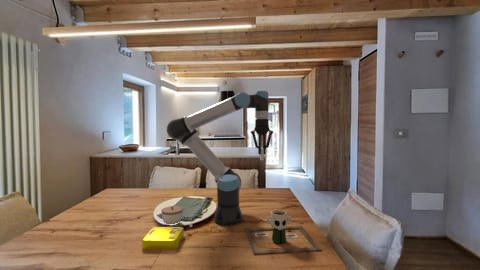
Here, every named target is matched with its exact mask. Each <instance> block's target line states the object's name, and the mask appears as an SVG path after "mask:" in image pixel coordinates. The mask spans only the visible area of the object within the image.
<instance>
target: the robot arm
mask: <svg viewBox="0 0 480 270" xmlns="http://www.w3.org/2000/svg"><path fill="white" fill-rule="evenodd" d="M269 98H270V97H269V92H268V91H267V90H256V91H255V94H248V93H246V92H245V91H243V92H242V91H241V92H239V93H237V94H235V95H233V96H232V97H228V98H226V99H224V100H223V101H220V102H217V103H215V104H212V105H211V106H209V107H206V108H204V109H201V110H199V111H197V112H195V113H192V114H190V115H188V116H187V115H183V116H180V117H178V118H174V119H173V120H170V121H169V123H167V125H166V133H167V135H168V137H170V138H171V139H172V140H174V141H179V143H180V144H181V145H182V146H183V147H184V146H186V147H187V148H188V149H189V150H190V151H191V152H192V153H193V154H194V155H195V157H197V159H198V160H199V161H200V162H201V163H202V164H203V165H204V167H205V168H206V169H207V170H208V172H210V174H211V175H212V176H213V177H214V182H215V183H216V186H217V187H216V189H217V190H216V192H217V194H216V197H217V199H216V200H217V201H216V203H217V206H216V209H215V213H214V216H213V219H214V223H215V224H217V225H220V226H228V227H229V226H235V225H239V224H241V223H242V222H243V221H244V220H243V219H244V218H243V217H244V216H243V213H242V210H241V207H240V191H241V188H242V179H241V176H240V175H239V174H238V173H237V172H235V171H234V170H232V168H231V167H230V166H225V164H224V163H223V162H222V161H221V160H220V159H219V158H218V156H217V155H216V154H215V153H214V152H213V151H212V149H210V147H209V145H207V144H206V143H205V142H204V140H202V138H201V137H200V136H199V131H198V130H197V129H198V128H202V126H206V125H207V124H209V123H212V122H214V121H216V120H219V119H221V118H224V117H225V116H228V115H230V114H233V113H235V112H237V111H239V110H242V109H255V110H254V111H255V113H254V115H255V116H254V117H255V121H254V123H255V125H254V128H253V130H251V131H250V134H251V135H252V138H253V140H252V141H253V143H254V147H255V148H257V149H258V155H260V156H259V159H260V161H264V158H265V155H266V150H267V149H268V148H269V147H270V143H271V138H272V135H273V133H274V130H271V129H270V126H269V125H270V124H269V123H270V122H269V120H270V119H269V118H270V117H269V115H270V113H269V111H270V110H269V108H270V107H269V106H270V103H269V100H270V99H269ZM256 134H257V137H258V139H257V137H256ZM267 134H268V135H267ZM266 137H267V139H266ZM257 140H258V141H257Z"/></svg>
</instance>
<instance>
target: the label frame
mask: <svg viewBox="0 0 480 270" xmlns="http://www.w3.org/2000/svg"><path fill="white" fill-rule="evenodd" d="M284 229H285V231H286V230H299V231H300V232H301V234H302V235H303V236H304V237H305V238H306V240H307V241H308V242H309V243H310V244H311V246H312V247H298V248H297V247H296V248H295V247H294V248H283V249H282V248H281V249H266V250H265V249H264V250H263V249H262V250H261V249H260V250H258V247H257V244H256V242H255V239H254V236H255V237H256V238H258V237H261V238H262V237H269V234H268V232H261V231H273V227H272V226H271V227H253V228H252V227H251V228H245V232H246V234H247V238H248V241H249V244H250V248H251V249H252V253H253V255H255V256H257V255H259V256H260V255H273V254H287V253H289V254H290V253H304V252H305V253H306V252H321V251H322V250H323V249H322V248H321V247H320V245H318V243H317V242H316V241H315V240H314V239H313V237H312V236H311V235H310V234H309V233H308V232H307V230H306V229H305V228H304V227H303V226H302V225H294V226H293V225H292V226H287V227H286V228H284ZM252 232H253V233H254V232H255V233H254V236H253V233H252ZM285 234H286V239H294V238H298V235H297V233H285Z"/></svg>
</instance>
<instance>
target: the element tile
mask: <svg viewBox="0 0 480 270" xmlns="http://www.w3.org/2000/svg"><path fill="white" fill-rule="evenodd" d="M184 237H185V229H184V227H183V226H153V227H152V228H151V229H150V230H149V231H148V232H147V233H146V234H145V236H144V237H143V238H142V239H141V240H142V241H141V242H142V243H141V244H142V246H141V247H142V250H144V251H145V250H146V251H147V250H148V251H150V250H153V251H154V250H156V251H158V250H161V251H165V250H166V251H173V250H177V249H179V246H180V244H181V243H182V241H183V239H184Z"/></svg>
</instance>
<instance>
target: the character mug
mask: <svg viewBox="0 0 480 270" xmlns="http://www.w3.org/2000/svg"><path fill="white" fill-rule="evenodd" d="M291 223H292V216H291V215H288V212H287V211H286V210H282V209H274V210H271V212H270V216H267V217H266V224H267V225H270V226H271V227H273V230H272V234H271V235H272V236H271V240H272V242H274V243H276V244H280V243H281V244H284V243H286V242H287V238H286V234H287V233H286V230H285V229H284V228H286V227H288V224H291Z"/></svg>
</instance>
